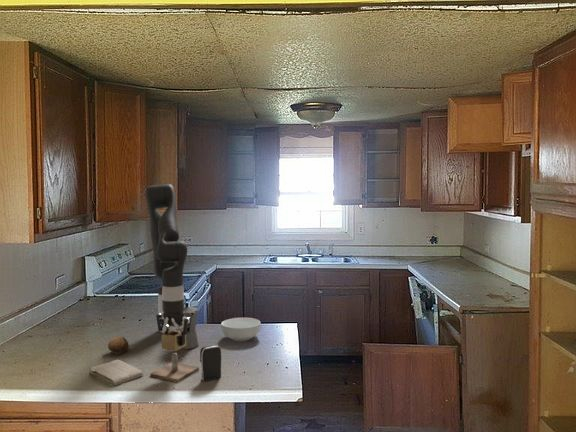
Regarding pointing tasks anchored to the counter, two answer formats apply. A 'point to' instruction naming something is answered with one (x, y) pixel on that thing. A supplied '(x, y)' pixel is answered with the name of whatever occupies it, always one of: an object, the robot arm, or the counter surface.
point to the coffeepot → (191, 327)
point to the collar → (171, 341)
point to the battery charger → (210, 362)
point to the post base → (176, 374)
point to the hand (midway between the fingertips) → (174, 344)
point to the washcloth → (115, 372)
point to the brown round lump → (118, 345)
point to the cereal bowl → (240, 328)
